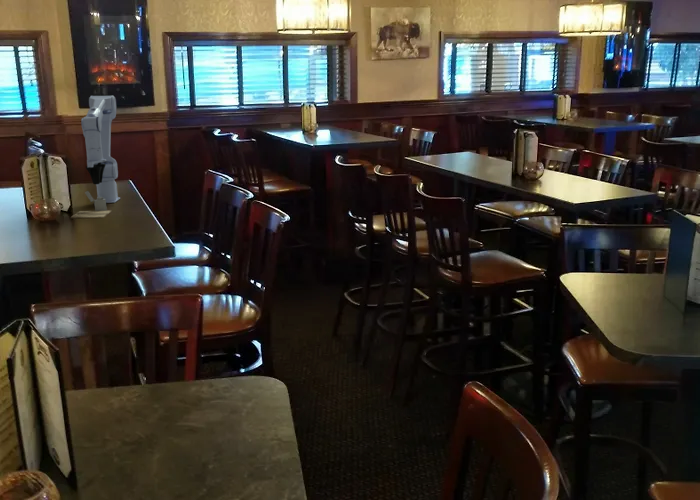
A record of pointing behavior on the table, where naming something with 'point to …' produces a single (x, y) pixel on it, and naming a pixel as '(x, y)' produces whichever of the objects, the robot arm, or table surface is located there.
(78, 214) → the cork mat
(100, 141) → the robot arm
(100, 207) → the lighter
